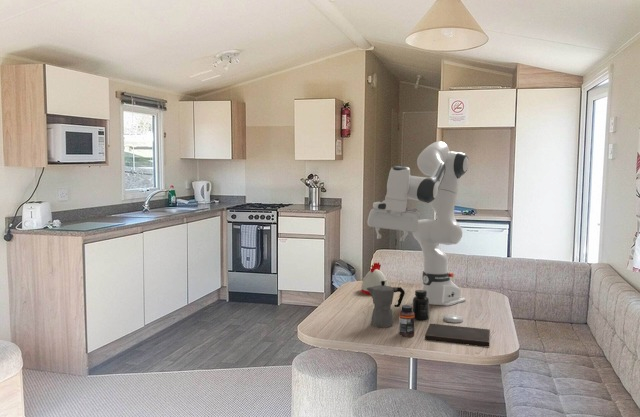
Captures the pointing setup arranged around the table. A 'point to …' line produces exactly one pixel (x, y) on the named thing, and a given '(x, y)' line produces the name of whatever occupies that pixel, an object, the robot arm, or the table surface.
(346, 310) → the table surface
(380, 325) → the coffeepot
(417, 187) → the robot arm
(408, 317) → the supplement bottle
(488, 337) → the hardcover book
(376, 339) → the table surface
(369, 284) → the kitchen timer
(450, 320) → the white glossy disc
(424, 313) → the supplement bottle
